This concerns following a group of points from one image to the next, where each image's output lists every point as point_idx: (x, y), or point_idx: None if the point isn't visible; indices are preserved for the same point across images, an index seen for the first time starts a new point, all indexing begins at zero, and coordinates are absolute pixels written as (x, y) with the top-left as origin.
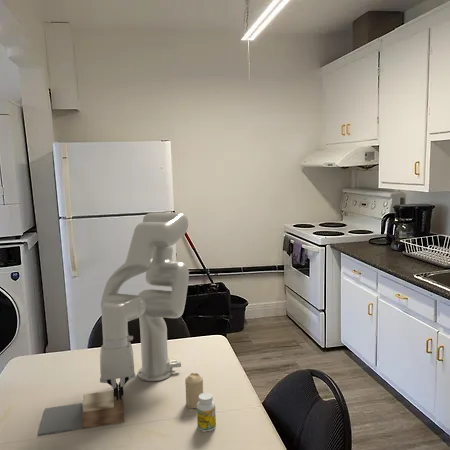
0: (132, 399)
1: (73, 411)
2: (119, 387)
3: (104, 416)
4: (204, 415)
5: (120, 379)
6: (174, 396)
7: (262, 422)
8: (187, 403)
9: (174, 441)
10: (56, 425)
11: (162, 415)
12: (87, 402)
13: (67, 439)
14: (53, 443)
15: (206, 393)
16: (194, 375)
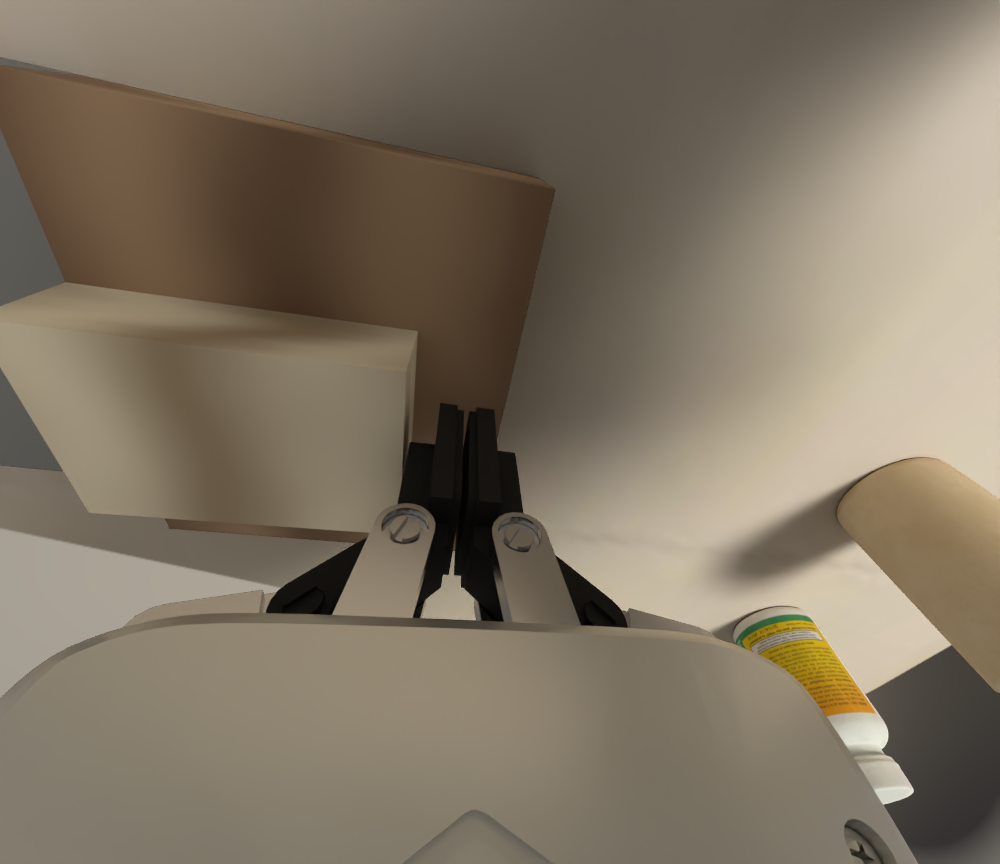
0: (612, 249)
1: (12, 242)
2: (464, 578)
3: (338, 536)
4: None
5: (499, 586)
6: (900, 365)
7: (927, 649)
8: (855, 523)
9: None
10: None
11: (679, 518)
12: (132, 499)
13: (145, 528)
14: (70, 533)
15: (900, 791)
16: None
